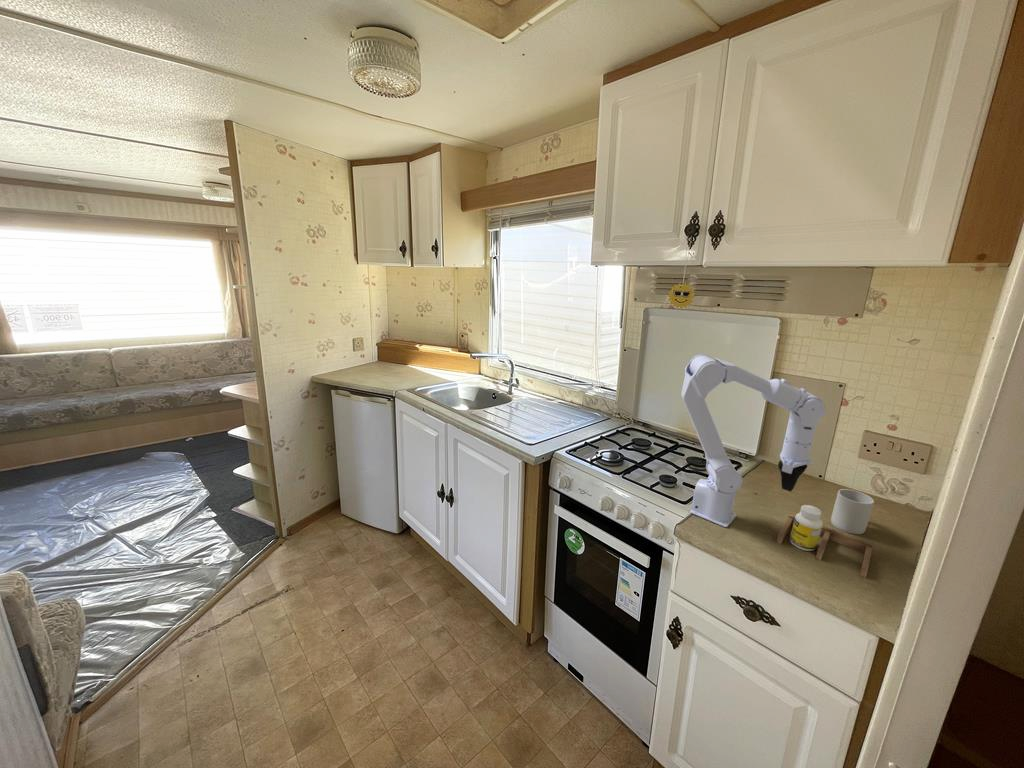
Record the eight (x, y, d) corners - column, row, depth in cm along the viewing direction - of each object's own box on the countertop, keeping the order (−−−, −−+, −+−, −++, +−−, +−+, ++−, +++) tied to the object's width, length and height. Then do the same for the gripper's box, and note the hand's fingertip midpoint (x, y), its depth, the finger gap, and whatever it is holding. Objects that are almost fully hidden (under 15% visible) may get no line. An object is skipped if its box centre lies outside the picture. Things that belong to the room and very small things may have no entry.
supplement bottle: (783, 538, 103) (792, 503, 101) (802, 536, 104) (811, 502, 102) (802, 553, 98) (811, 516, 96) (821, 550, 99) (831, 515, 96)
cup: (828, 526, 109) (837, 496, 107) (832, 511, 116) (840, 482, 114) (864, 538, 105) (873, 507, 102) (865, 521, 112) (874, 492, 109)
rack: (776, 542, 102) (778, 533, 101) (787, 522, 110) (789, 514, 110) (865, 577, 91) (868, 568, 90) (870, 552, 99) (873, 543, 98)
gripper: (812, 453, 96) (799, 506, 100) (822, 437, 106) (811, 485, 110) (777, 444, 101) (766, 494, 104) (790, 429, 111) (780, 475, 114)
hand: (787, 489), depth 107 cm, fingers closed
